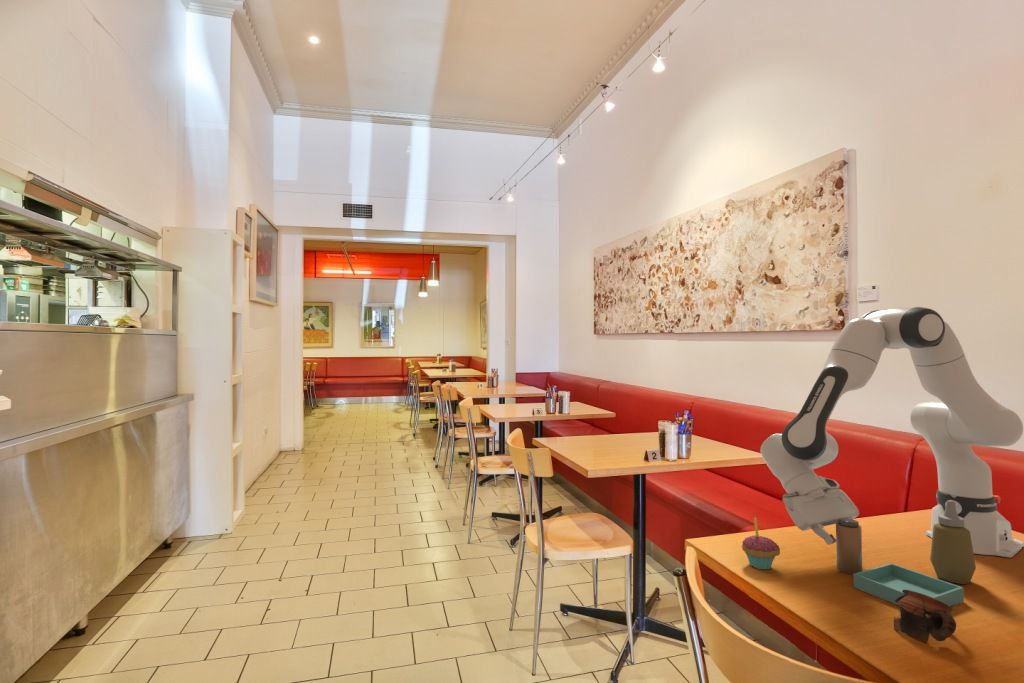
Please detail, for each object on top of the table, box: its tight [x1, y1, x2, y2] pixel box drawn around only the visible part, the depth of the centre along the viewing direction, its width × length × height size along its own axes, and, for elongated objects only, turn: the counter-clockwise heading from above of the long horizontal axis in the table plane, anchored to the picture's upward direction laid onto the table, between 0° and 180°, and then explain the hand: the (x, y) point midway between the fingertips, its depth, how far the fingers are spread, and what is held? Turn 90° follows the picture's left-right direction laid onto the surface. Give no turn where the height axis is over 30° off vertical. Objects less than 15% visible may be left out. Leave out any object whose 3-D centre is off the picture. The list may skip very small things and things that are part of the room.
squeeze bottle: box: [930, 501, 977, 585], centre depth 118 cm, size 8×8×18 cm
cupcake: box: [741, 514, 781, 570], centre depth 126 cm, size 9×8×12 cm
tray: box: [852, 562, 965, 617], centre depth 110 cm, size 14×14×3 cm
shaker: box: [835, 518, 864, 576], centre depth 123 cm, size 5×5×12 cm
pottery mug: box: [892, 590, 957, 644], centre depth 94 cm, size 12×10×8 cm
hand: (845, 540), depth 123 cm, fingers open, 8 cm apart
